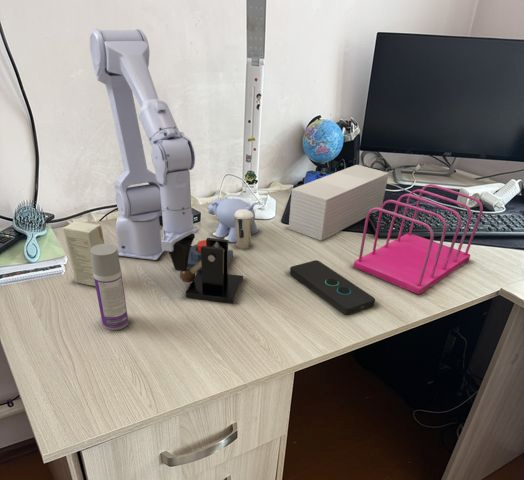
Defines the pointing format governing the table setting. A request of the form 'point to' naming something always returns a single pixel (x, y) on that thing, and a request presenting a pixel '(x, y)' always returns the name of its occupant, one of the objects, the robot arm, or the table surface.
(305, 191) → the stack of papers
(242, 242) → the milkshake
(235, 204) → the hippopotamus toy
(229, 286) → the switch bracket
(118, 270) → the container
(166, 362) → the table surface
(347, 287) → the smart home device
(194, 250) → the button box
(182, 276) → the lever
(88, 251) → the cosmetic box
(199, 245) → the button
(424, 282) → the file sorter
